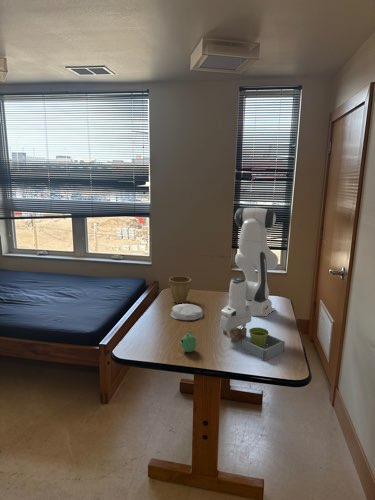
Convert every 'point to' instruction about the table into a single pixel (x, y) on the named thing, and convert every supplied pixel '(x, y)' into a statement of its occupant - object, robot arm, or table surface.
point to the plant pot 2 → (258, 336)
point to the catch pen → (261, 353)
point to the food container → (186, 312)
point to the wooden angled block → (237, 334)
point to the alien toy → (188, 342)
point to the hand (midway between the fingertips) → (235, 333)
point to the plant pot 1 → (179, 288)
